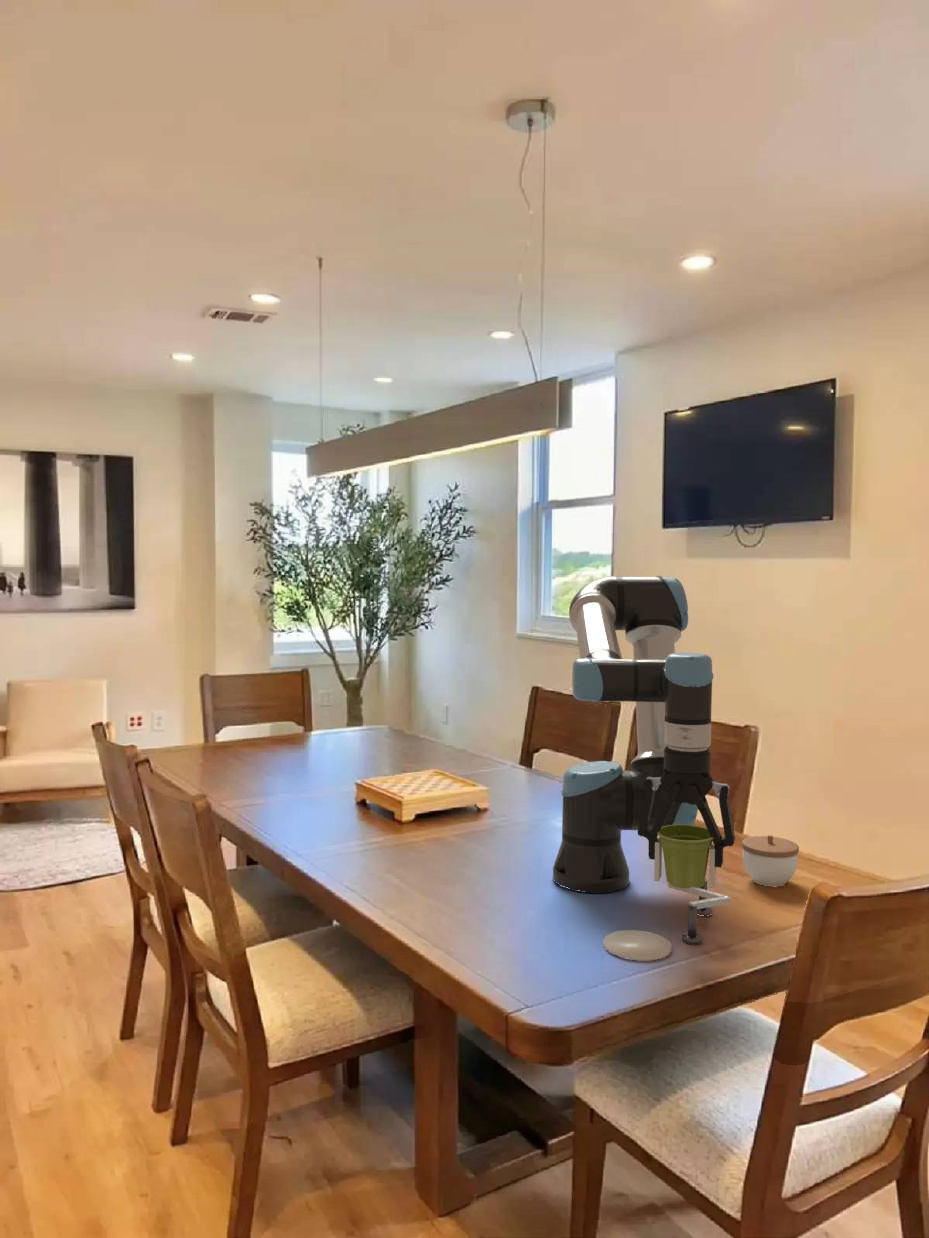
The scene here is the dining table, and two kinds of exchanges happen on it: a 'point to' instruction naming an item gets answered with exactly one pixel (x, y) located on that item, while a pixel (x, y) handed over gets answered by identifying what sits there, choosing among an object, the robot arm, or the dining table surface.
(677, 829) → the plant pot
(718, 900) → the zigzag bar on posts
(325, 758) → the dining table surface
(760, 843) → the lidded jar
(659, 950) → the pad
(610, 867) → the robot arm
